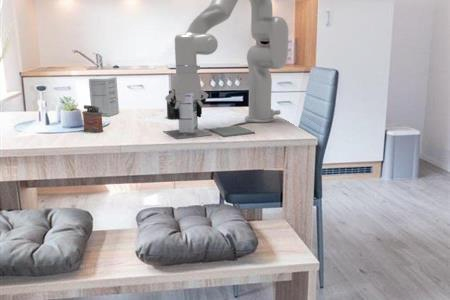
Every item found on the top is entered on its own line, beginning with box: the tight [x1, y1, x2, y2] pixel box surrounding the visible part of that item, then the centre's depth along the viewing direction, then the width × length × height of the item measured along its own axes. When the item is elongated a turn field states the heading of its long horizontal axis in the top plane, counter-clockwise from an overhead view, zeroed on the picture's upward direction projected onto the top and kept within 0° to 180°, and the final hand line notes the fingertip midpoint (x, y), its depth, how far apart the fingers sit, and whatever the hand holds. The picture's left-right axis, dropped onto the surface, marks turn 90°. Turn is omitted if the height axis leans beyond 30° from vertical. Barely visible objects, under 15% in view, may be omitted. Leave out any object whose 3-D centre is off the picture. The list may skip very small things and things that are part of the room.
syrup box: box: [178, 93, 199, 133], centre depth 167 cm, size 6×6×14 cm
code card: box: [162, 128, 213, 140], centre depth 168 cm, size 14×14×1 cm
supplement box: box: [88, 76, 120, 117], centre depth 206 cm, size 10×9×17 cm
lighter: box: [82, 104, 104, 134], centre depth 171 cm, size 8×3×10 cm, turn 71°
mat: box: [208, 125, 256, 138], centre depth 171 cm, size 13×13×1 cm
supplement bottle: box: [166, 89, 176, 120], centre depth 198 cm, size 7×7×12 cm
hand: (187, 117), depth 167 cm, fingers closed on syrup box, 8 cm apart
